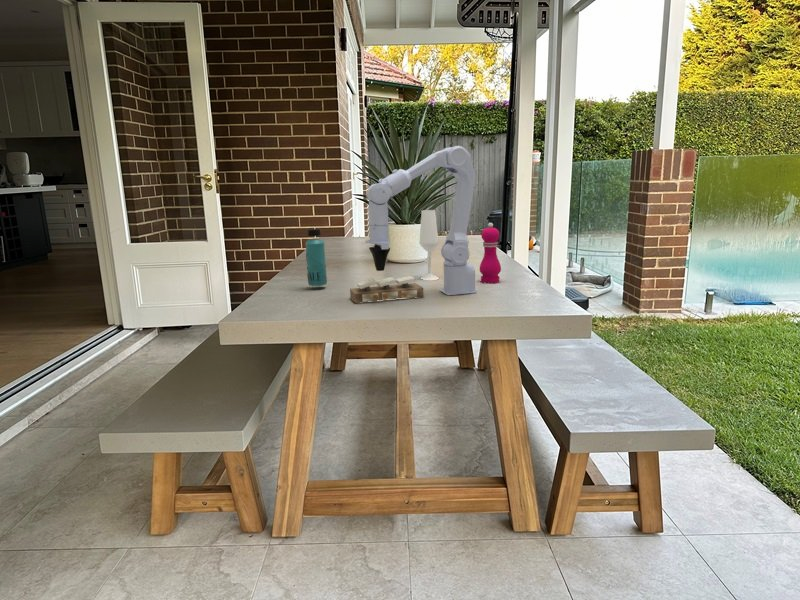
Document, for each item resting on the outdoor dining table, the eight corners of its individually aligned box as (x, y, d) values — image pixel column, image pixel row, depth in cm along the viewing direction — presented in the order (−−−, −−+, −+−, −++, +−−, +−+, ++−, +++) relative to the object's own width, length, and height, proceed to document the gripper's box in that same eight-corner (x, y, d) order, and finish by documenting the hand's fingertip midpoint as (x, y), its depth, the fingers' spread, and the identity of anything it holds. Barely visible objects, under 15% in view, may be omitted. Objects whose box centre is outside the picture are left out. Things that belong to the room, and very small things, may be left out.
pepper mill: (479, 279, 191) (479, 221, 187) (500, 279, 190) (501, 221, 186) (479, 283, 184) (479, 223, 180) (501, 283, 183) (502, 223, 179)
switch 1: (373, 281, 168) (372, 278, 168) (376, 284, 164) (375, 280, 163) (357, 286, 167) (356, 283, 167) (360, 288, 163) (359, 285, 162)
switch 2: (392, 279, 169) (391, 276, 169) (395, 282, 165) (395, 279, 165) (376, 284, 168) (376, 281, 168) (380, 287, 164) (379, 283, 164)
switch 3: (410, 278, 171) (410, 275, 171) (415, 281, 167) (414, 278, 167) (395, 282, 170) (395, 279, 170) (399, 284, 166) (398, 281, 166)
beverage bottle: (325, 285, 189) (322, 227, 184) (329, 289, 183) (325, 229, 178) (306, 287, 187) (302, 228, 182) (309, 291, 181) (305, 230, 176)
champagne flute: (433, 280, 192) (432, 211, 186) (416, 279, 195) (415, 211, 190) (442, 277, 197) (441, 209, 192) (425, 276, 201) (424, 209, 195)
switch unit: (415, 292, 174) (415, 279, 173) (424, 297, 166) (423, 284, 165) (350, 298, 169) (349, 284, 168) (355, 304, 161) (355, 290, 160)
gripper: (360, 223, 168) (362, 267, 171) (371, 227, 155) (372, 275, 158) (382, 222, 170) (384, 266, 173) (395, 226, 156) (396, 273, 159)
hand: (380, 270), depth 165 cm, fingers closed
